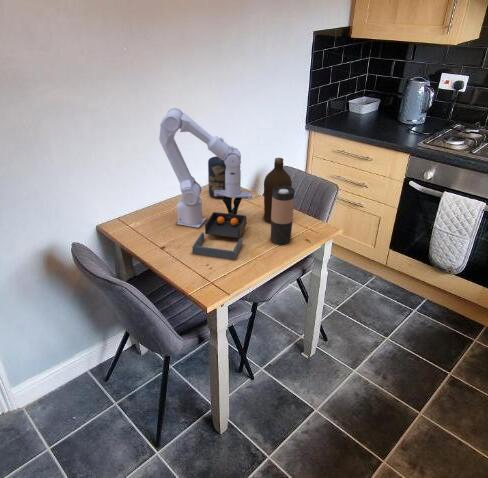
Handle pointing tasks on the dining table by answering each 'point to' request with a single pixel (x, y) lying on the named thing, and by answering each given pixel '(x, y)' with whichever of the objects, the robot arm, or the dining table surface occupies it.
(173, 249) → the dining table surface
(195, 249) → the frame
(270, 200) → the olive oil
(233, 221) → the ball
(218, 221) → the ball
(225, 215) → the scoop pan
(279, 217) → the travel mug
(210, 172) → the canister
